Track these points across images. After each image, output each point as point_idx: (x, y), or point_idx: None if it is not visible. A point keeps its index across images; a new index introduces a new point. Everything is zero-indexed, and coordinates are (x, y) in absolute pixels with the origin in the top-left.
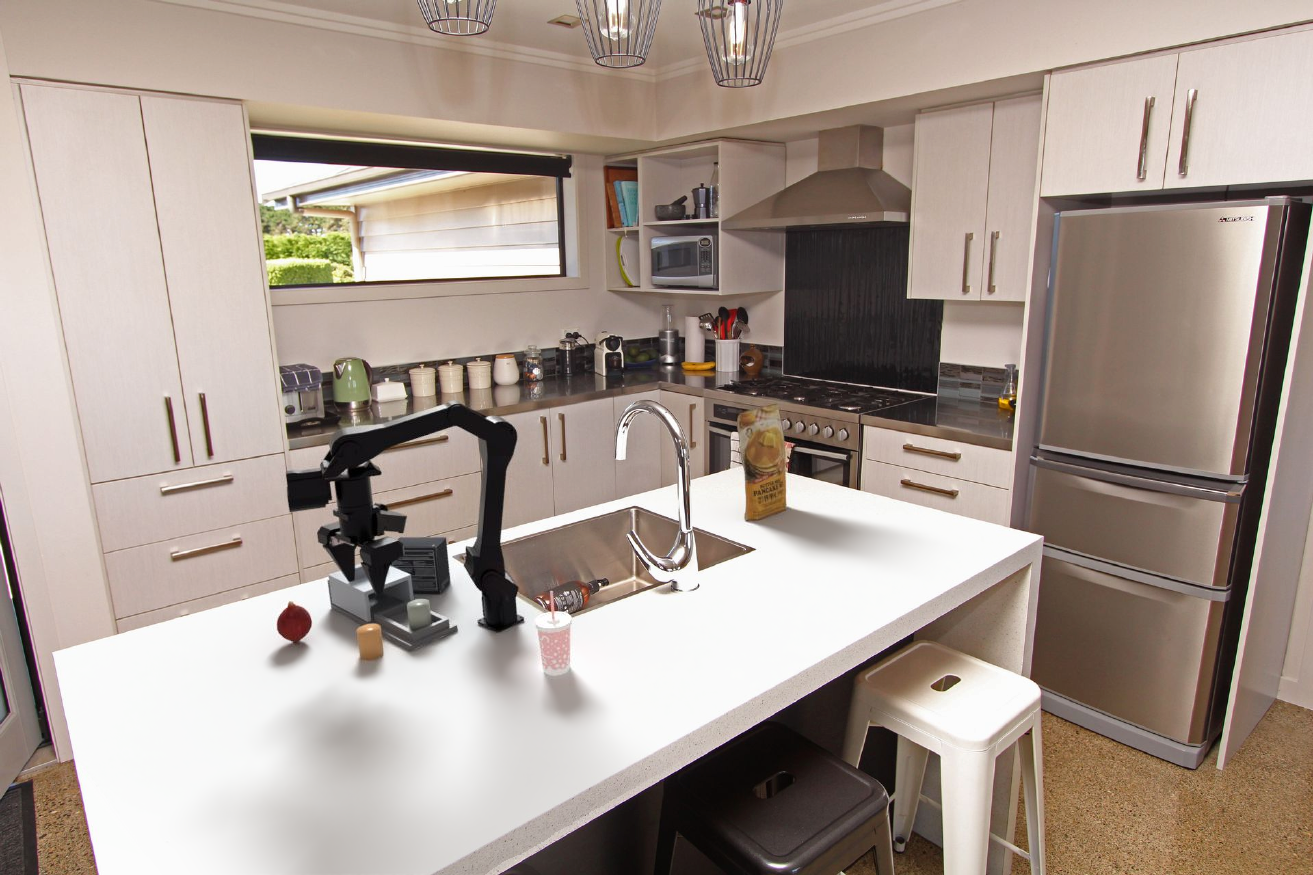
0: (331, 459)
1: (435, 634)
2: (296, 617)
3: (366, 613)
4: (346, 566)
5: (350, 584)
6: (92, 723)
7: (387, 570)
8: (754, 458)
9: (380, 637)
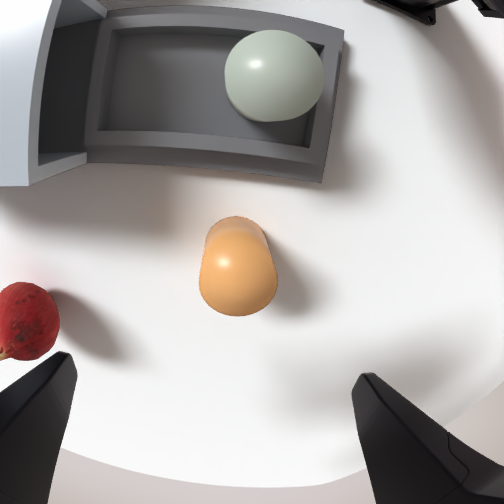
0: None
1: (334, 98)
2: (36, 347)
3: (71, 167)
4: (45, 448)
5: None
6: (114, 463)
7: (473, 456)
8: None
9: (269, 253)
